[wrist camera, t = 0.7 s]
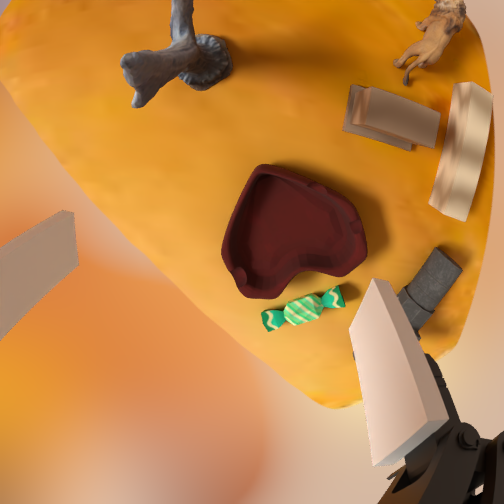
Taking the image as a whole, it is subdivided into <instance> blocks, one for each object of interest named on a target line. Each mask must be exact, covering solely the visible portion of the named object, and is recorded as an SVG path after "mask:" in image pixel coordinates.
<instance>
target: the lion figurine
mask: <svg viewBox="0 0 504 504" xmlns="http://www.w3.org/2000/svg"><path fill="white" fill-rule="evenodd" d="M435 1H436V4H434V9H432V11H431V14H430V16H429V17H427V18H426V19H424V21H423V22H419V21H418V22H416V26H417V28H418V29H419V30H422V31H423V30H425V29H426V28H427V27H428V28H427V30H426V32H425V34H424V37H423V40H421V41H418V42H416V43H414V44H413V45H411V46H410V47H409V48H408V49H407V50H406V51H405V53H404V54H403V56H402V57H401V58H400V59H395V60H394V61H393V64H394V66H396V67H397V68H400V67H401V66H402V65H404V64H405V62H406V61H407V59H408V58H411V57H412V56H419V58H418V59H417V60H415V61H414V62H413V63H412V64H411V65H409V66H408V68H407V69H406V71H405V76H404V78H403V84H404V85H405V86H407V84H408V80H409V73H410V71H411V70H412V69H413V68H414V67H416V66H417V65H418V66H419V67H420V68H425V67H426V66H427V65H429V64H430V65H432V64H434V63H435V62H437V61H438V60H439V58H440V56H441V55H442V53H443V50H444V48H445V47H446V46H447V45H448V43H449V42H450V40H451V37H452V35H454V34H455V33H457V32H459V31H460V30H461V28H462V27H463V22H464V19H465V17H466V16H465V14H466V6H465V4H464V2H463V0H435Z"/></svg>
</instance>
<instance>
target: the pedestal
mask: <svg viewBox="0 0 504 504" xmlns="http://www.w3.org/2000/svg"><path fill="white" fill-rule="evenodd" d="M440 116H441V113H439V112H437V111H434V110H432V109H430V108H428V107H425V106H423V105H421V104H418V103H416V102H413V101H411V100H408V99H406V98H403V97H401V96H398V95H395V94H393V93H390V92H387V91H384V90H381V89H378V88H375V87H369V88H364V87H360V86H357V85H353V84H352V85H351V86H350V92H349V98H348V103H347V109H346V114H345V119H344V125H343V130H342V131H346V132H350V133H353V134H357V135H360V136H364V137H367V138H371V139H374V140H377V141H381V142H384V143H387V144H390V145H393V146H396V147H399V148H402V149H405V150H408V151H411V147H412V144H416V145H421V146H425V147H429V148H433V149H434V147H435V142H436V138H437V132H438V127H439V122H440Z"/></svg>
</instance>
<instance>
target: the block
mask: <svg viewBox="0 0 504 504" xmlns="http://www.w3.org/2000/svg"><path fill="white" fill-rule="evenodd" d="M492 105H493V95H492V94H491V93H489V92H488V91H486V90H485V89H483V88H482V87H480V86H479V85H477V84H475V83H474V82H464V83H456V84H454V86H453V94H452V101H451V108H450V114H449V120H448V126H447V131H446V136H445V141H444V146H443V150H442V155H441V159H440V163H439V167H438V171H437V175H436V179H435V182H434V186H433V189H432V193H431V196H430V199H429V203H428V204H430V205H431V206H433V207H434V208H436V209H437V210H438V211H440V212H441V213H443V214H444V215H447V216H450V217H453V218H455V219H458V220H461V221H464V222H466V219H467V216H468V213H469V210H470V207H471V204H472V200H473V197H474V194H475V190H476V187H477V183H478V179H479V175H480V172H481V167H482V163H483V159H484V154H485V149H486V144H487V139H488V133H489V127H490V121H491V113H492Z"/></svg>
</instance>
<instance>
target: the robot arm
mask: <svg viewBox="0 0 504 504" xmlns="http://www.w3.org/2000/svg"><path fill="white" fill-rule="evenodd" d="M74 222H75V221H74V213H73V212H69V211H64V210H62V211H60V212H58V213H57V214H55V215H53V216H52V217H49V218H48V219H46V220H44V221H42V222H41V223H39V224H37V225H36V226H34V227H32V228H31V229H29V230H27V231H26V232H24V233H23V234H21V235H19V236H18V237H16V238H14V239H13V240H11V241H10V242H8V243H7V244H5V245H4V246H2V247H1V248H0V341H1V339H2V338H3V337H4V336H5V335H6V334H7V333H8V332H9V331H10V330H11V329H12V327H14V326H15V325H16V323H17V322H18V321H19V320H20V319H21V318H22V317H23V316H24V315H25V314H26V313H27V312H28V311H29V310H30V309H31V308H32V307H33V306H34V305H35V304H36V303H37V302H39V301H40V300H41V299H42V298H43V297H44V296H45V295H46V294H47V293H48V292H49V291H50V290H51V289H52V288H54V287H55V286H56V285H57V284H58V283H59V282H60V281H61V280H62V279H63V278H65V277H66V276H67V275H68V274H69V273H70V272H71V271H73V270H74V269H75V268H76V267H77V266H78V265H79V261H78V253H77V244H76V234H75V223H74ZM349 333H350V337H351V342H352V346H353V351H354V356H355V360H356V365H357V370H358V375H359V380H360V386H361V391H362V397H363V402H364V408H365V414H366V421H367V427H368V434H369V441H370V448H371V456H372V465H373V467H374V466H387V465H393V464H395V463H397V462H398V461H399V460H401V459H402V458H403V457H405V463H406V465H404V466H403V467H401V468H400V469H398V470H397V471H395V472H394V473H392V474H391V475H390V476H389V477H388V478H387V479H388V480H390V479H392V478H393V477H395V476H396V477H395V479H394V480H393V482H392V483H391V485H390V486H389V488H388V489H387V491H386V492H385V494H384V495H383V497H382V498H381V500H380V501H379V502H378V504H504V431H503V432H501V433H500V434H499V435H498V436H497V437H495V438H494V439H493V440H489V439H484V438H480V436H479V434H478V432H477V430H476V429H475V428H474V427H473V426H471V425H470V424H468V423H465V422H464V423H461V421H460V419H459V416H458V414H457V411H456V408H455V406H454V403H453V400H452V398H451V395H450V392H449V390H448V388H446V383H445V380H444V378H442V373H441V371H440V369H439V366H438V364H437V363H436V362H435V361H434V359H433V358H432V357H431V356H430V355H429V354H425V353H424V352H423V350H422V348H421V346H420V343H419V341H418V339H417V337H416V335H415V333H414V330H413V328H412V326H411V324H410V322H409V320H408V318H407V316H406V314H405V312H404V310H403V308H402V306H401V304H400V302H399V300H398V298H397V296H396V294H395V292H394V290H393V289H392V287H391V285H390V283H389V281H385V280H381V279H376V278H372V280H371V283H370V285H369V287H368V290H367V292H366V294H365V296H364V298H363V301H362V303H361V305H360V307H359V309H358V311H357V313H356V316H355V318H354V320H353V322H352V324H351V326H350V328H349ZM483 484H484V486H483V492H481V493H480V494H478V495H475V489H476V488H478V487H479V486H481V485H483Z"/></svg>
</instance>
